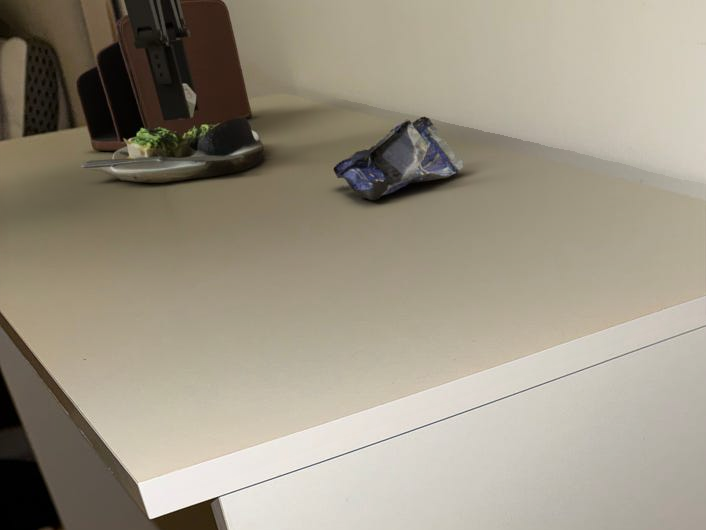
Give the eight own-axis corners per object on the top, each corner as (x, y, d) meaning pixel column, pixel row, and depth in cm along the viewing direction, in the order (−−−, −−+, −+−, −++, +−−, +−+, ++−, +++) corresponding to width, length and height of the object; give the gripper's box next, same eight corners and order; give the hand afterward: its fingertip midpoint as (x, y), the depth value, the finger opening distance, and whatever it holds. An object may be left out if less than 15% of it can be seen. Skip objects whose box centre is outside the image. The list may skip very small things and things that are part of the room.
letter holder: (253, 117, 124) (226, -11, 115) (154, 153, 110) (115, 11, 101) (195, 117, 127) (164, -7, 118) (92, 152, 114) (49, 15, 105)
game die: (159, 120, 100) (151, 88, 98) (187, 112, 102) (179, 81, 100) (180, 121, 98) (172, 89, 96) (207, 114, 100) (199, 82, 98)
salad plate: (81, 200, 94) (65, 150, 91) (93, 164, 108) (79, 120, 105) (271, 172, 97) (261, 123, 94) (259, 141, 111) (250, 97, 108)
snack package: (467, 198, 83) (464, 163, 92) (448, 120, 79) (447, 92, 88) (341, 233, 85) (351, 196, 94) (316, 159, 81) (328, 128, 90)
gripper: (123, -183, 78) (199, 127, 93) (171, -174, 91) (231, 97, 106) (36, -173, 79) (126, 134, 93) (97, -166, 92) (167, 103, 106)
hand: (182, 114), depth 100 cm, fingers closed on game die, 4 cm apart
